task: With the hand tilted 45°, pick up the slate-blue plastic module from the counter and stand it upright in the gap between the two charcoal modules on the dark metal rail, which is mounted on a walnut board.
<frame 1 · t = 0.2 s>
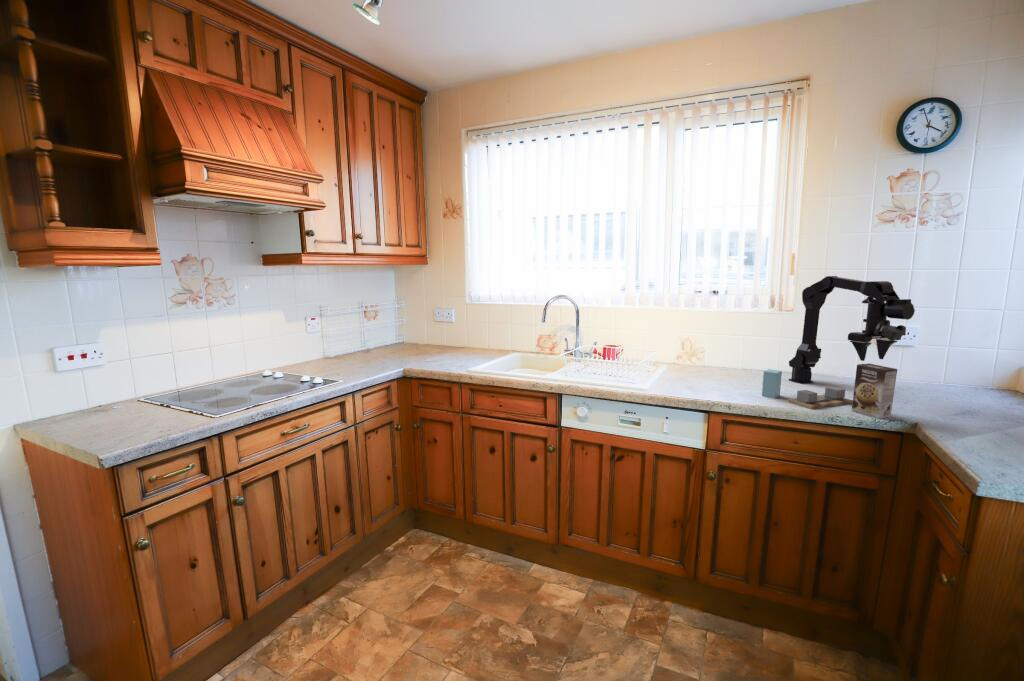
hand: (871, 359, 173), 15 cm above the worktop, tool pointing down, fingers open, 9 cm apart
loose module: (770, 395, 181), on the worktop
mounted modules: (821, 394, 172), on the rail, point 3 cm above the worktop
rail: (820, 399, 172), on the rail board, point 1 cm above the worktop
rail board: (820, 402, 172), on the worktop
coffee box: (870, 414, 159), on the worktop
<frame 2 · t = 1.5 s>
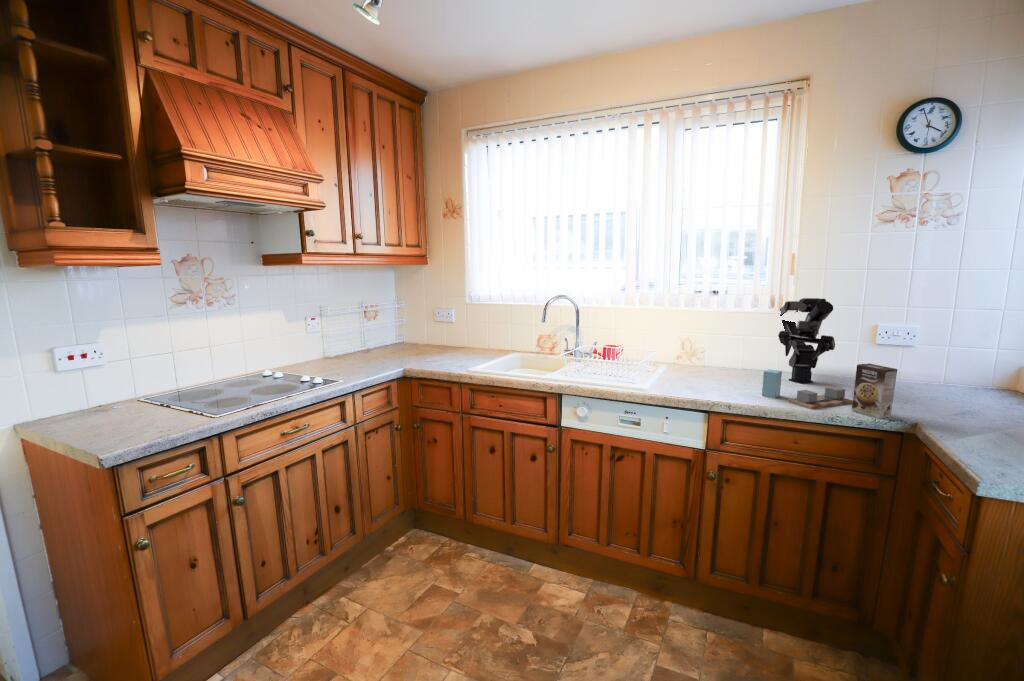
hand: (799, 357, 185), 13 cm above the worktop, tool tilted 45°, fingers open, 9 cm apart
nothing on the worktop moved.
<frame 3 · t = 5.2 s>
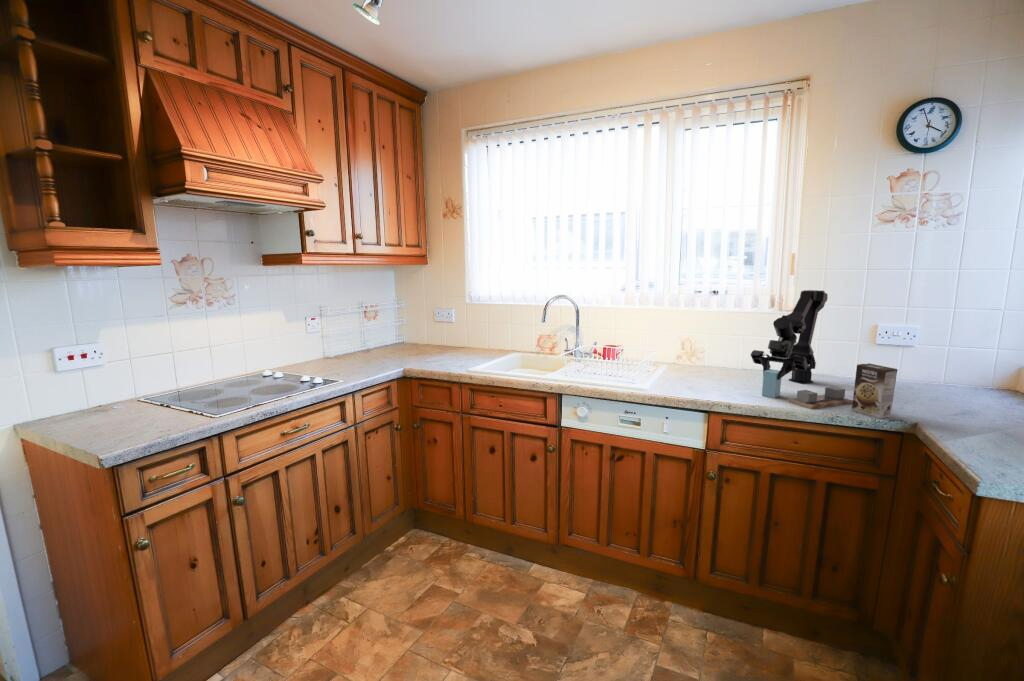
hand: (770, 377, 179), 7 cm above the worktop, tool tilted 45°, fingers closed on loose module, 4 cm apart
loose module: (770, 395, 181), on the worktop, touching gripper
everything else where it was.
when the fingers open (10 cm above the worktop, at t = 9.4 s): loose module drops 1 cm, resting on rail.
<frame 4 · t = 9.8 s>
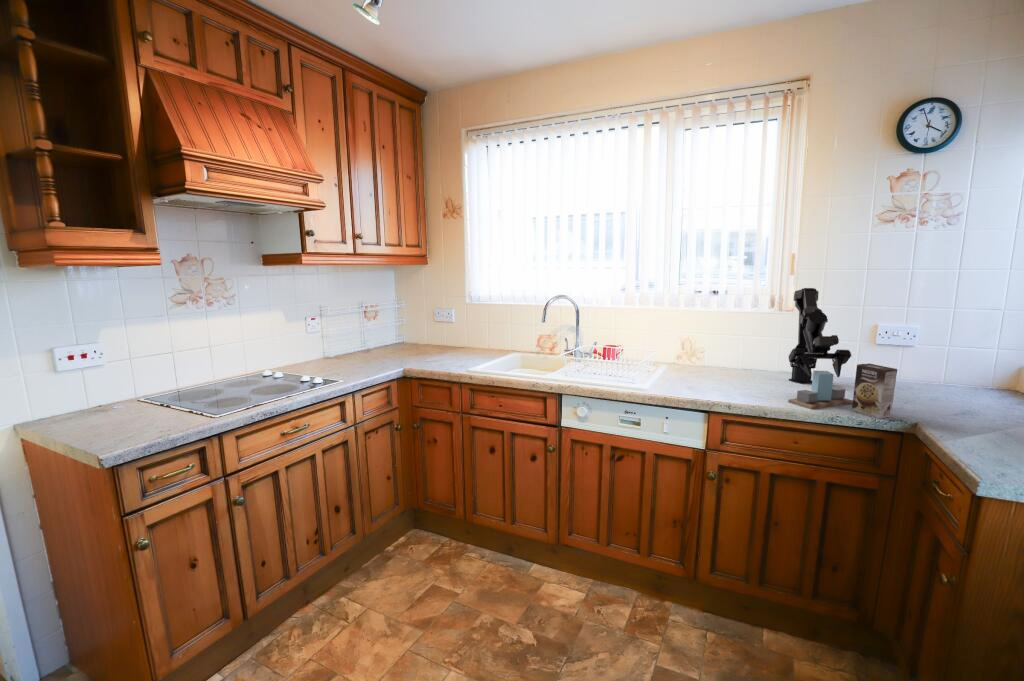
hand: (824, 376, 169), 10 cm above the worktop, tool tilted 45°, fingers open, 9 cm apart
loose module: (820, 398, 172), point 2 cm above the worktop, touching rail
everything else where it was.
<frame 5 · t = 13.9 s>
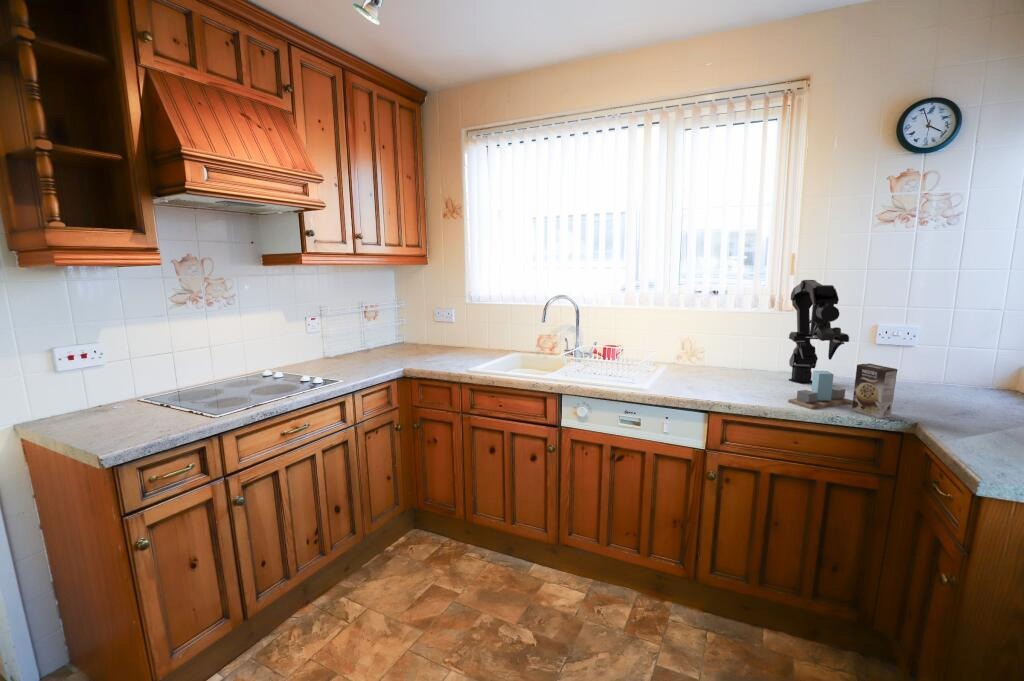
hand: (816, 359, 183), 13 cm above the worktop, tool pointing down, fingers open, 9 cm apart
nothing on the worktop moved.
at the end: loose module 0.0 cm off-centre on the rail, point 1.6 cm above the rail's base; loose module tilted 0°; the gripper is holding nothing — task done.
